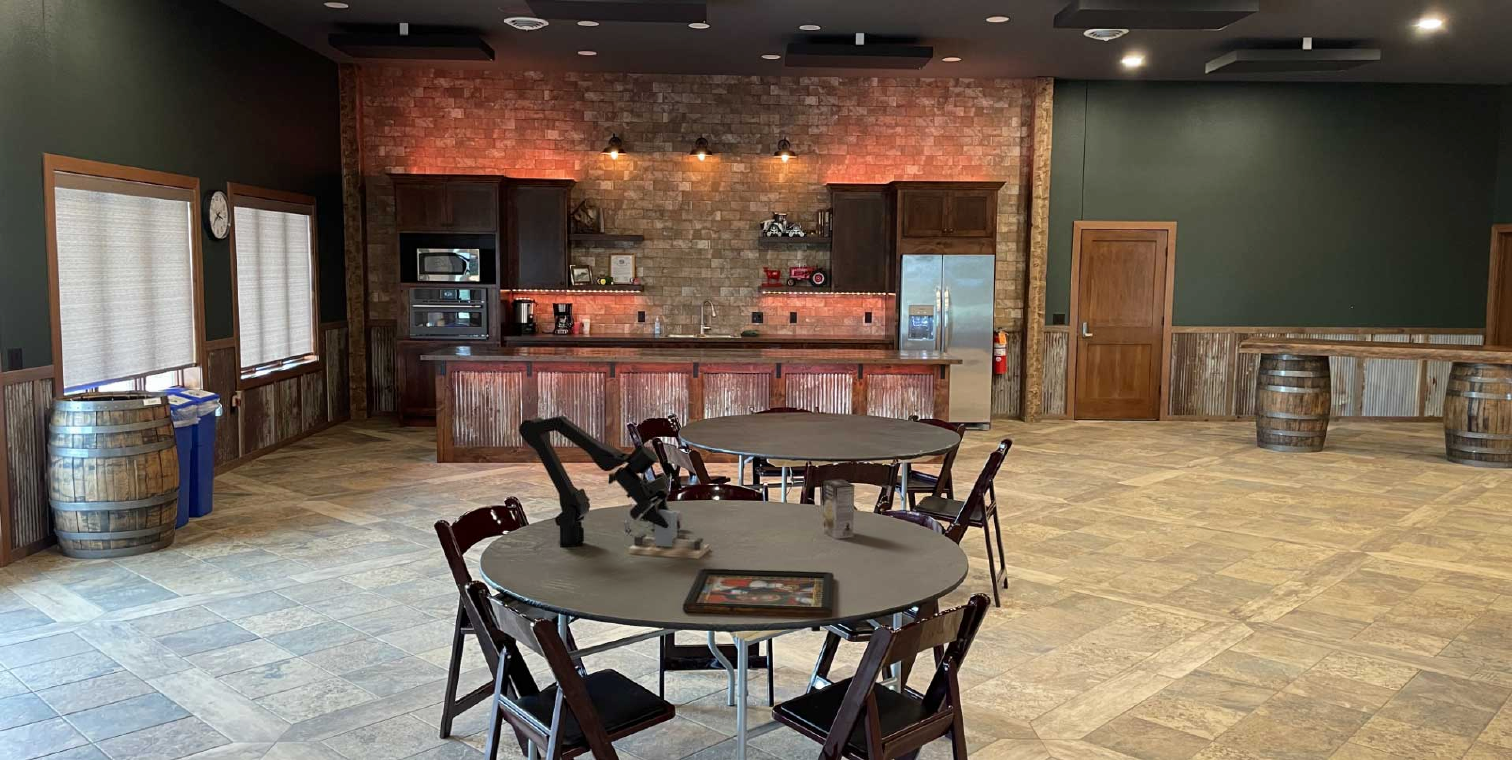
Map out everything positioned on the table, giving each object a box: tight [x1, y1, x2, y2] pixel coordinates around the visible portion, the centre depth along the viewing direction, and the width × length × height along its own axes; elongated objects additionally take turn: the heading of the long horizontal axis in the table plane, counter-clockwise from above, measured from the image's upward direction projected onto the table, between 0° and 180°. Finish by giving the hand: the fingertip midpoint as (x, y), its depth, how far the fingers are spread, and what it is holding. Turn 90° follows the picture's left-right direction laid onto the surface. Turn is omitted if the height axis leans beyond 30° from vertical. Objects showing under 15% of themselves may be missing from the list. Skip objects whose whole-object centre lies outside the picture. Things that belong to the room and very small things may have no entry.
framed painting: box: [682, 568, 835, 618], centre depth 260 cm, size 38×35×3 cm
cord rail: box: [628, 533, 710, 560], centre depth 299 cm, size 20×11×4 cm, turn 75°
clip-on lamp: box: [623, 510, 683, 533], centre depth 321 cm, size 12×6×18 cm
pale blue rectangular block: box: [654, 509, 678, 547], centre depth 299 cm, size 5×5×9 cm
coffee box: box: [822, 478, 855, 540], centre depth 318 cm, size 9×6×16 cm
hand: (670, 525), depth 298 cm, fingers closed on pale blue rectangular block, 5 cm apart
